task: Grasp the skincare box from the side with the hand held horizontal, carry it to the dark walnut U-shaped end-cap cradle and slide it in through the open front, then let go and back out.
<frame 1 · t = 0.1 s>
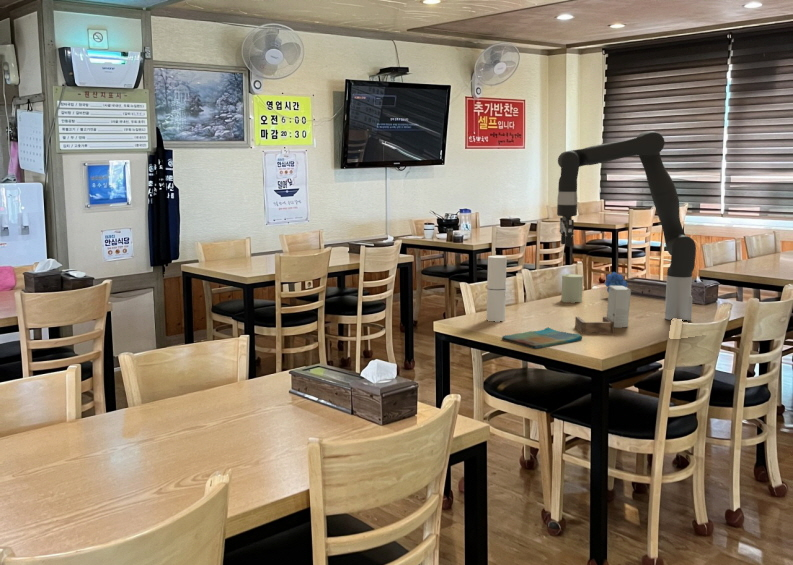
hand: (566, 245, 309), 29 cm above the table, tool pointing down, fingers open, 8 cm apart
dish towel: (542, 342, 276), on the table
can: (571, 301, 353), on the table
cylindrical container: (495, 320, 310), on the table
skincare box: (617, 326, 301), on the table
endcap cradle: (593, 329, 293), on the table
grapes: (614, 299, 360), on the table
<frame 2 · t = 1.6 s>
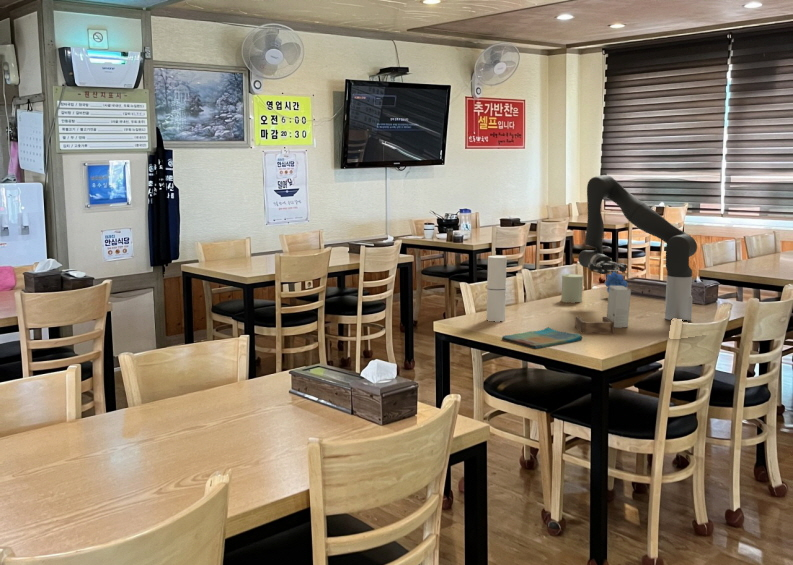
hand: (612, 269, 309), 20 cm above the table, tool horizontal, fingers open, 8 cm apart
nothing on the table moved.
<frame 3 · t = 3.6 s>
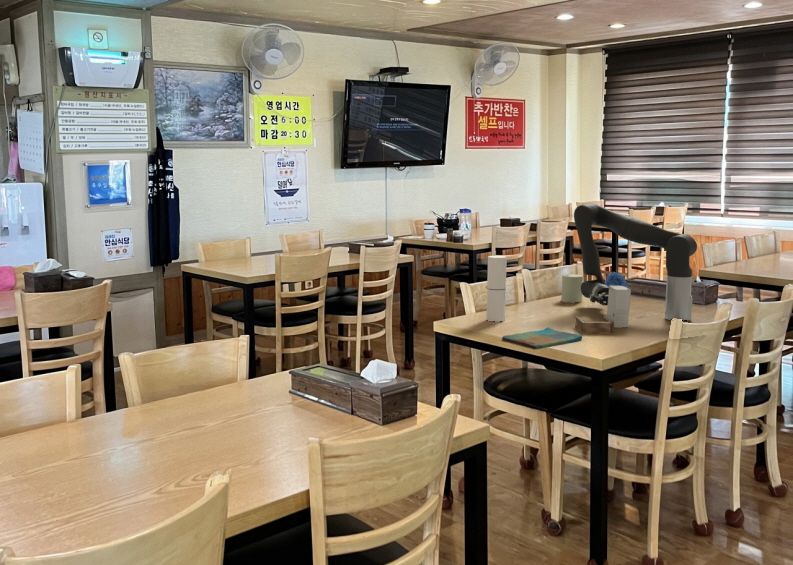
hand: (613, 301, 306), 8 cm above the table, tool horizontal, fingers open, 8 cm apart
nothing on the table moved.
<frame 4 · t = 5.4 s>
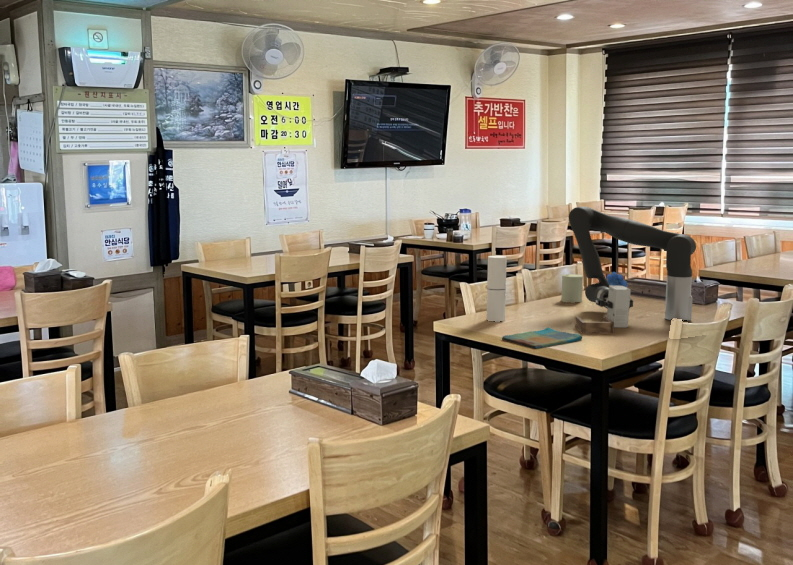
hand: (620, 305, 297), 8 cm above the table, tool horizontal, fingers closed on skincare box, 6 cm apart
skincare box: (617, 326, 301), on the table, touching gripper
everything else where it was.
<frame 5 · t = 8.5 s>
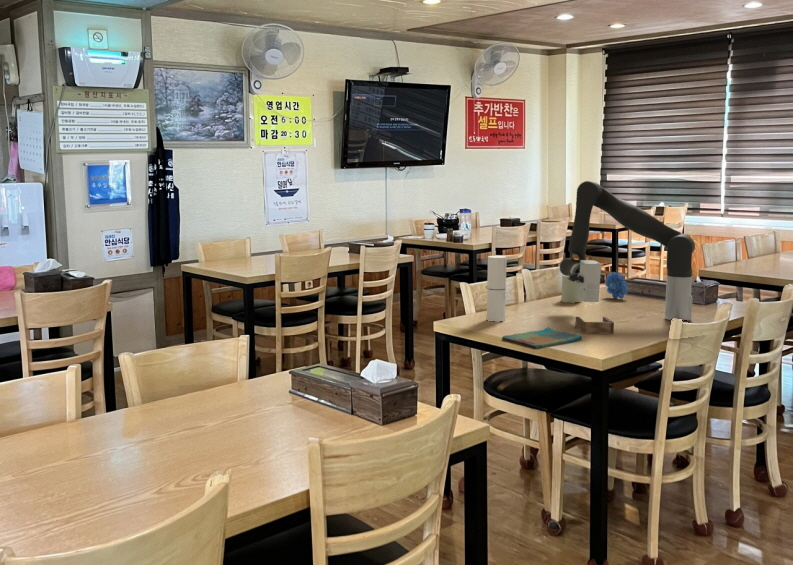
hand: (591, 280, 296), 18 cm above the table, tool horizontal, fingers closed on skincare box, 6 cm apart
skincare box: (588, 300, 300), point 9 cm above the table, touching gripper
everything else where it was.
when the fingers open (10 cm above the table, at t = 11.3 s): skincare box stays where it is, resting on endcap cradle.
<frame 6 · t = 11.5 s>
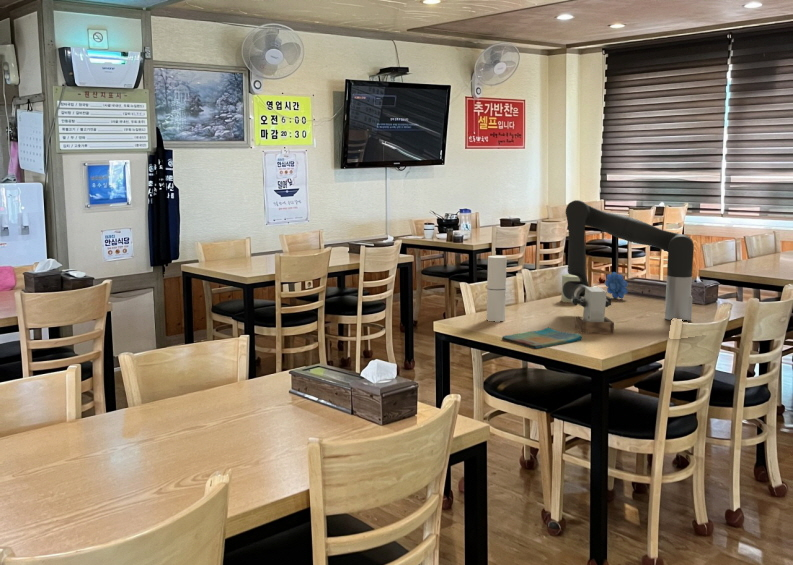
hand: (596, 304, 289), 10 cm above the table, tool horizontal, fingers open, 7 cm apart
skincare box: (593, 328, 293), resting on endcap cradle
everything else where it was.
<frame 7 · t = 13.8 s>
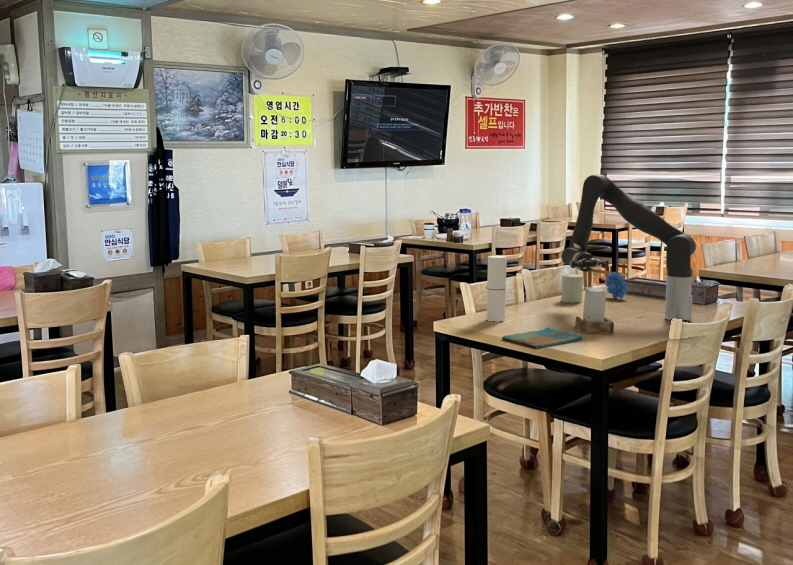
hand: (593, 265, 304), 22 cm above the table, tool horizontal, fingers open, 8 cm apart
nothing on the table moved.
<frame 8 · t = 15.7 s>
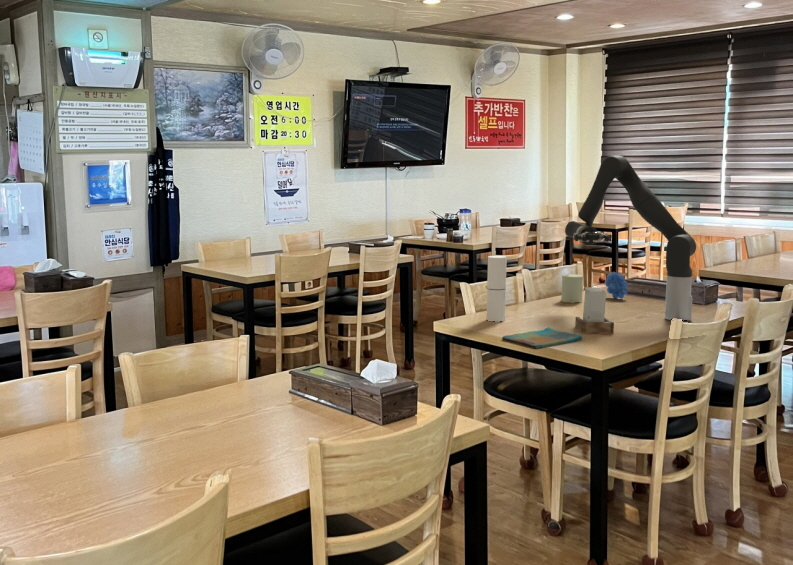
hand: (596, 238, 305), 32 cm above the table, tool horizontal, fingers open, 8 cm apart
nothing on the table moved.
at the end: skincare box inside the target area on the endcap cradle (0.6 cm from its centre), point 0.3 cm above the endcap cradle's base; skincare box tilted 0°; the gripper is holding nothing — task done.
